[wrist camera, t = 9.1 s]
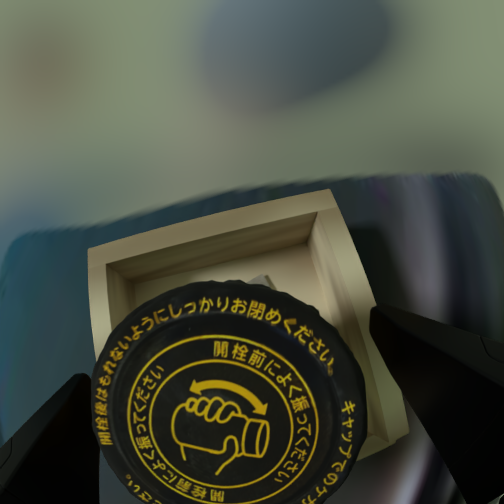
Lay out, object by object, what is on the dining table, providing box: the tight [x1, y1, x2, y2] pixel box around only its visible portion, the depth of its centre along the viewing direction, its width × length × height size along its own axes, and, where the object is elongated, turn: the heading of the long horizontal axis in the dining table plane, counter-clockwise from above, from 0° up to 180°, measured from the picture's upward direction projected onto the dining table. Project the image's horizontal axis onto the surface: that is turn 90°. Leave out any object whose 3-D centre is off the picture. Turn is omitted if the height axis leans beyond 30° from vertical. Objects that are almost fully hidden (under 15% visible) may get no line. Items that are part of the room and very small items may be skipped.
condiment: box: [91, 274, 368, 504], centre depth 10 cm, size 7×8×12 cm
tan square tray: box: [88, 189, 410, 461], centre depth 14 cm, size 15×14×5 cm
